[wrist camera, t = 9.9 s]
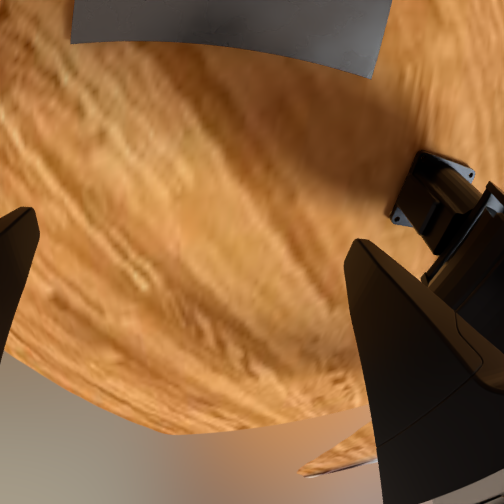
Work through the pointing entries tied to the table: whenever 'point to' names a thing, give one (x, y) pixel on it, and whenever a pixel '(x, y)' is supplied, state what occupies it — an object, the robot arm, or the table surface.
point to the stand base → (246, 26)
